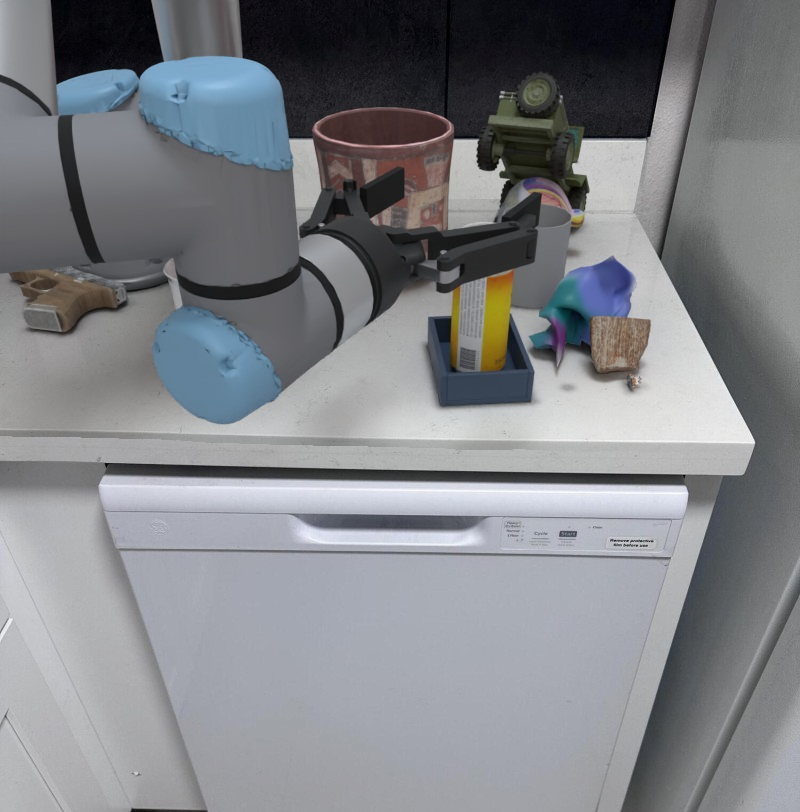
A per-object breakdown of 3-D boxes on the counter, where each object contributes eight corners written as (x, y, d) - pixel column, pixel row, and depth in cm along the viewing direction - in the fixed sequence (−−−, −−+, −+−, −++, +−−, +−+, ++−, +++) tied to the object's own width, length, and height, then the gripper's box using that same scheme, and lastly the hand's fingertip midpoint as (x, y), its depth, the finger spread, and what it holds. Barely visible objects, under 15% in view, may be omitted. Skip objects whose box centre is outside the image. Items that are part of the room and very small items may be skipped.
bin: (440, 406, 82) (441, 376, 80) (427, 345, 92) (427, 316, 90) (531, 401, 83) (534, 371, 80) (508, 341, 93) (511, 312, 90)
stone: (633, 334, 90) (655, 312, 85) (637, 381, 89) (661, 362, 84) (574, 329, 88) (594, 307, 84) (578, 377, 87) (598, 358, 82)
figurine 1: (584, 400, 93) (552, 368, 86) (534, 341, 99) (500, 306, 92) (674, 322, 89) (648, 281, 82) (616, 265, 95) (587, 223, 88)
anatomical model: (511, 244, 118) (495, 176, 112) (593, 229, 112) (581, 157, 106) (493, 273, 111) (475, 203, 105) (580, 259, 106) (566, 184, 100)
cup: (559, 310, 98) (570, 230, 92) (493, 305, 100) (500, 225, 93) (562, 282, 105) (573, 205, 98) (500, 277, 106) (507, 201, 99)
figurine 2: (568, 393, 84) (569, 385, 83) (565, 385, 85) (565, 377, 85) (643, 387, 84) (644, 380, 83) (638, 379, 85) (639, 371, 85)
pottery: (304, 287, 104) (291, 140, 92) (342, 237, 117) (335, 103, 105) (435, 301, 101) (439, 150, 89) (460, 248, 113) (466, 110, 101)
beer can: (510, 358, 88) (523, 224, 78) (497, 385, 84) (509, 247, 74) (458, 350, 90) (464, 217, 80) (442, 376, 86) (447, 239, 76)
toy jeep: (580, 237, 120) (599, 167, 120) (557, 152, 97) (581, 65, 96) (504, 227, 124) (522, 159, 124) (465, 143, 101) (487, 59, 100)
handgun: (-43, 305, 101) (34, 272, 109) (58, 340, 93) (133, 302, 101) (-52, 282, 99) (27, 250, 107) (49, 316, 91) (127, 279, 99)
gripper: (210, 294, 65) (351, 211, 78) (485, 373, 55) (591, 264, 69) (194, 201, 59) (348, 129, 73) (493, 270, 50) (606, 173, 64)
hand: (466, 194), depth 71 cm, fingers open, 13 cm apart
